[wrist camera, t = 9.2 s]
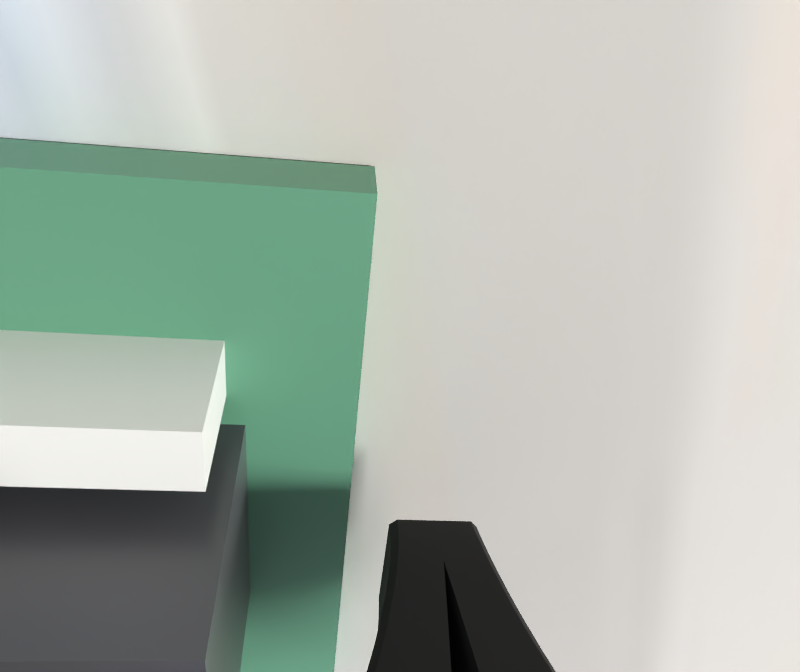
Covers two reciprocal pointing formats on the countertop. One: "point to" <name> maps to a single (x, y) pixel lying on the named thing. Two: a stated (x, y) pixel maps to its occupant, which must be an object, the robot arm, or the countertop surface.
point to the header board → (193, 348)
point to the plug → (127, 574)
